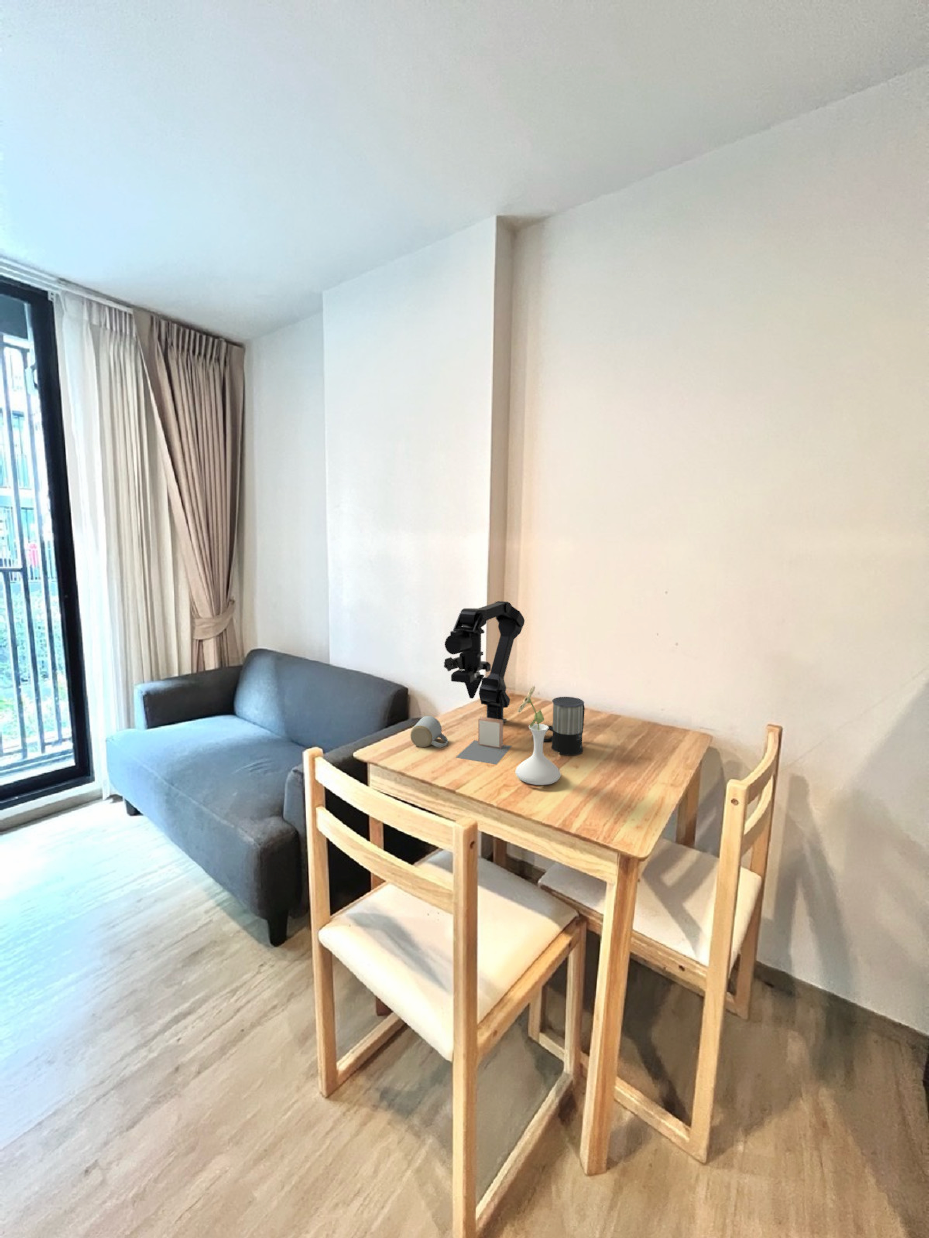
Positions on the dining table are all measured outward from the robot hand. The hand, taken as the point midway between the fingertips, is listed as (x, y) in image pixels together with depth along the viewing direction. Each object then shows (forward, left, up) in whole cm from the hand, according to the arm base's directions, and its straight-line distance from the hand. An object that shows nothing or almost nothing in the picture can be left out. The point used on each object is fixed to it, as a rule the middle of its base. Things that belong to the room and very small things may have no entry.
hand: (471, 698), depth 154 cm
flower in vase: (+23, +27, -12) cm, 37 cm away
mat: (+12, +9, -12) cm, 19 cm away
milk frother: (-2, +27, -12) cm, 29 cm away
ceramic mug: (+12, -9, -12) cm, 19 cm away
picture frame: (+7, +9, -12) cm, 16 cm away
